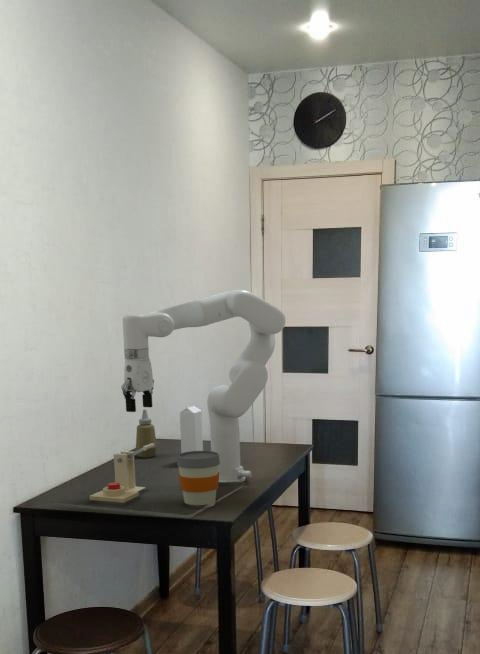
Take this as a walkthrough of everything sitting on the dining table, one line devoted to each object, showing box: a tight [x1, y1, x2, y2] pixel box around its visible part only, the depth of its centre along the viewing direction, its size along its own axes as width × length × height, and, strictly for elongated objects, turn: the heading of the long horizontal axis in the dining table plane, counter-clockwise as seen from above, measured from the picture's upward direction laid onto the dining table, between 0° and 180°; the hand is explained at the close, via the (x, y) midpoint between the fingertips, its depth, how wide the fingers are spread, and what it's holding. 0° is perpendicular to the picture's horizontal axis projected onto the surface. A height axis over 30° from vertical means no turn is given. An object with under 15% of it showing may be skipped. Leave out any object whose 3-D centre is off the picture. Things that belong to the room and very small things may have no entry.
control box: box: [89, 486, 140, 504], centre depth 258 cm, size 12×9×4 cm
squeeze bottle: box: [135, 409, 158, 459], centre depth 322 cm, size 8×8×18 cm
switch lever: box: [126, 443, 155, 461], centre depth 264 cm, size 12×5×2 cm, turn 67°
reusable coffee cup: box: [176, 450, 220, 509], centre depth 250 cm, size 13×13×15 cm
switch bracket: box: [113, 450, 147, 492], centre depth 267 cm, size 10×8×13 cm
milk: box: [179, 401, 204, 454], centre depth 309 cm, size 6×6×22 cm
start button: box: [107, 481, 120, 490], centre depth 258 cm, size 4×4×2 cm
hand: (139, 409), depth 265 cm, fingers open, 9 cm apart
